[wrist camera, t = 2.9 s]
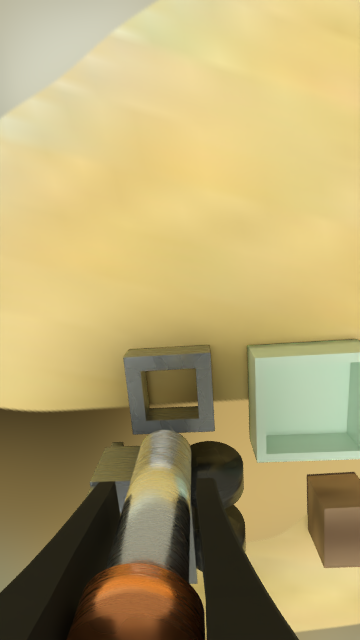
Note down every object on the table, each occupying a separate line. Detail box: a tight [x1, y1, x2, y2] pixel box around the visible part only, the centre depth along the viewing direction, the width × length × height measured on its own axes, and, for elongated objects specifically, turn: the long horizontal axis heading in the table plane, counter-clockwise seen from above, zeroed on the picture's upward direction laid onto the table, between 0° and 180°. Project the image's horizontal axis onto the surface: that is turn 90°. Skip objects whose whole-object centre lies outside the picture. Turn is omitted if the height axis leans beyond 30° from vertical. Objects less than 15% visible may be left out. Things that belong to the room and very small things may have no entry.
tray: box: [247, 339, 360, 462], centre depth 19 cm, size 7×7×2 cm
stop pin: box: [67, 430, 205, 640], centre depth 10 cm, size 3×3×7 cm
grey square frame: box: [123, 345, 215, 434], centre depth 19 cm, size 6×6×2 cm
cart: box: [87, 441, 246, 584], centre depth 18 cm, size 8×10×7 cm
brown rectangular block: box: [307, 472, 360, 568], centre depth 20 cm, size 5×4×3 cm
